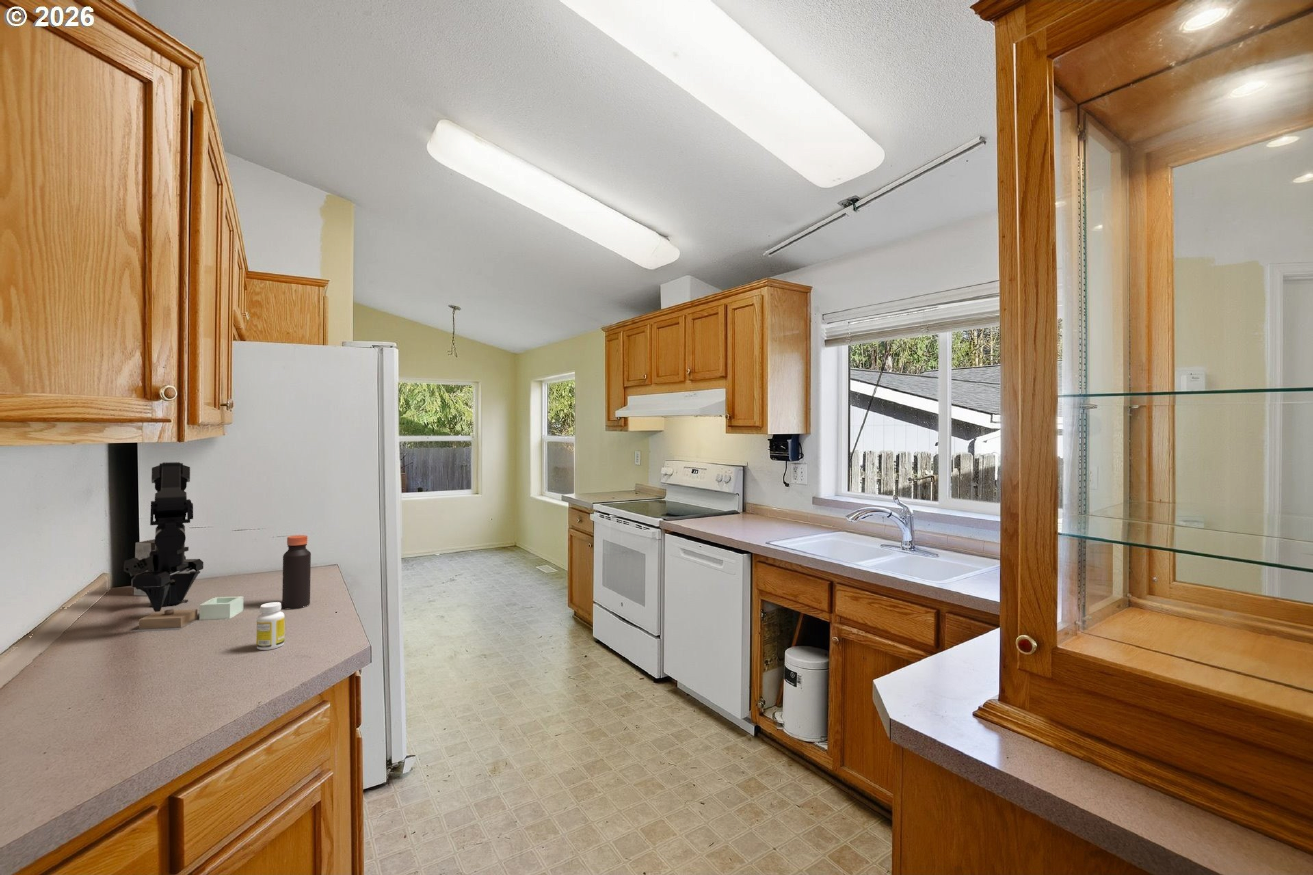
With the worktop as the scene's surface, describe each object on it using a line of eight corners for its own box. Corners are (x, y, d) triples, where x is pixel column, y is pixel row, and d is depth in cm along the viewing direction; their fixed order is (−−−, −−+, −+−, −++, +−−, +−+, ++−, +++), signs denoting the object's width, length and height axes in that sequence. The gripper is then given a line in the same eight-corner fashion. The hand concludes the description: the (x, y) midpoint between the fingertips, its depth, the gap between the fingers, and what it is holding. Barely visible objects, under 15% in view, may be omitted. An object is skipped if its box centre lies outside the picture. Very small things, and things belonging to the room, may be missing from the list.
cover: (157, 620, 146) (157, 607, 146) (197, 618, 148) (197, 605, 148) (138, 629, 140) (139, 615, 140) (180, 627, 141) (181, 613, 141)
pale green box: (214, 613, 154) (214, 597, 154) (243, 612, 156) (243, 596, 156) (199, 622, 148) (199, 604, 148) (229, 620, 149) (230, 603, 149)
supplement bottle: (281, 640, 136) (282, 599, 136) (286, 646, 132) (287, 604, 132) (254, 646, 132) (254, 604, 132) (258, 652, 128) (259, 609, 128)
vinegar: (312, 601, 167) (313, 534, 167) (306, 608, 160) (307, 538, 160) (286, 603, 165) (287, 534, 165) (278, 610, 158) (279, 539, 158)
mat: (159, 621, 148) (159, 618, 148) (202, 619, 150) (202, 616, 150) (132, 634, 138) (132, 631, 138) (179, 631, 140) (179, 629, 140)
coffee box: (154, 596, 170) (154, 542, 170) (133, 595, 170) (133, 542, 170) (180, 588, 179) (180, 537, 179) (160, 587, 179) (160, 536, 179)
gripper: (157, 538, 151) (156, 596, 151) (105, 553, 133) (104, 619, 133) (205, 538, 154) (204, 595, 154) (160, 552, 136) (159, 616, 136)
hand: (169, 605), depth 144 cm, fingers open, 9 cm apart
